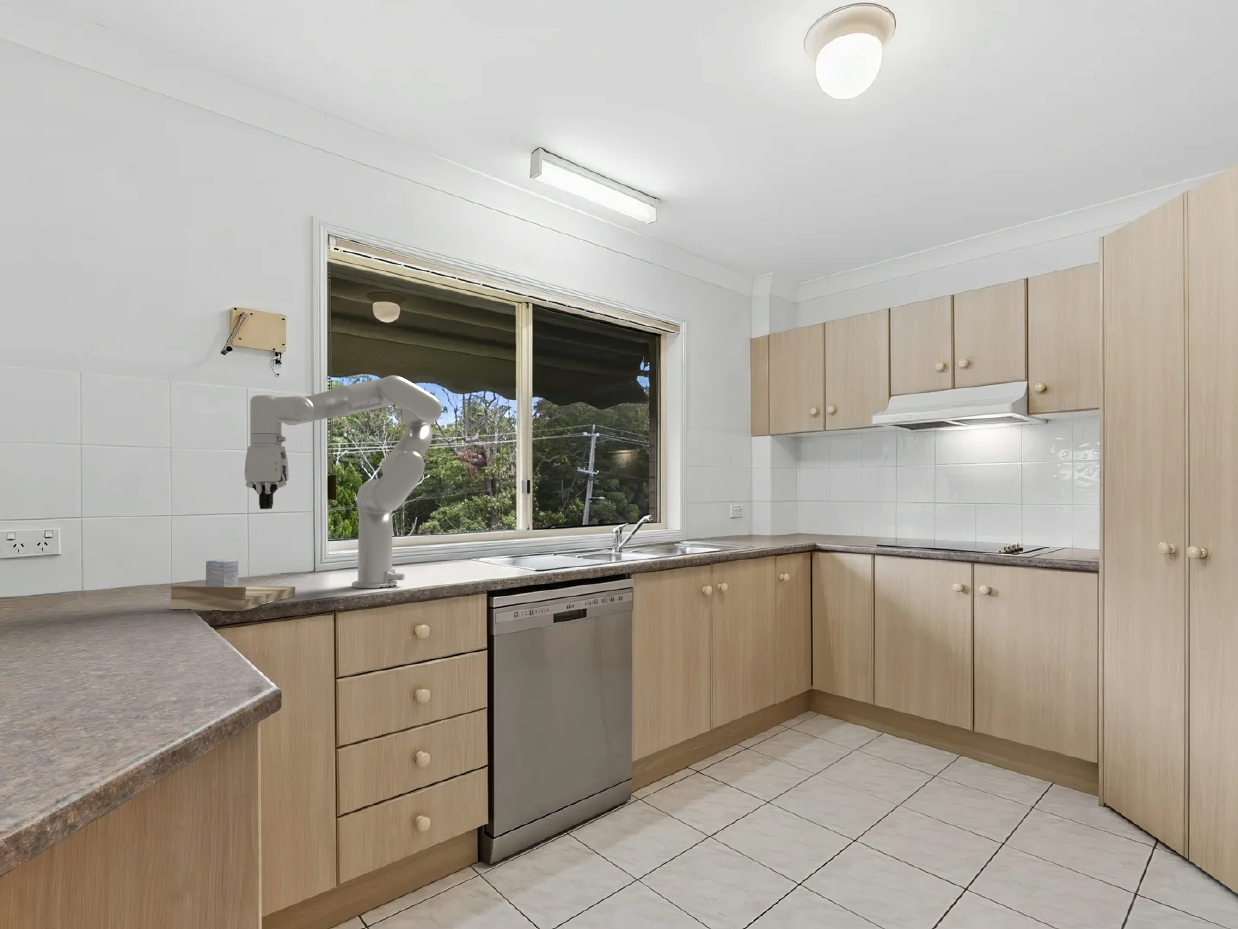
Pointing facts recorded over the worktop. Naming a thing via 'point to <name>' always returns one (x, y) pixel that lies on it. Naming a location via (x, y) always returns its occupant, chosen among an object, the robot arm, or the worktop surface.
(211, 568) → the medicine box
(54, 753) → the worktop surface
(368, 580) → the robot arm
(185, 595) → the board
